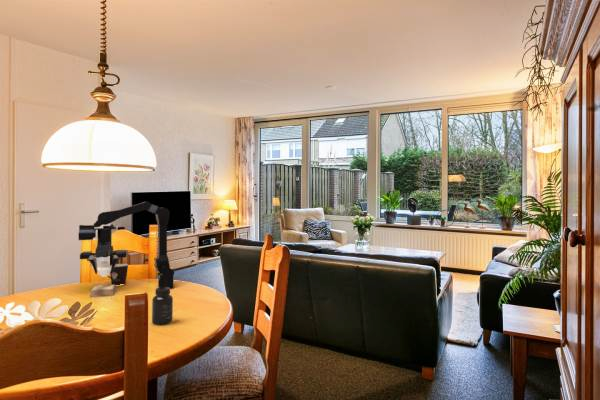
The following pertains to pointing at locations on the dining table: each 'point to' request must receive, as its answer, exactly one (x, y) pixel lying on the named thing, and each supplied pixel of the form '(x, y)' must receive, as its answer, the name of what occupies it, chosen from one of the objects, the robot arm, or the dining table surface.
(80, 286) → the dining table surface
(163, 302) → the supplement bottle
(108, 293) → the brown flat block
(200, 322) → the dining table surface
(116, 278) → the coffee mug
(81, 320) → the dining table surface
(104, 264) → the muffin
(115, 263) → the robot arm
